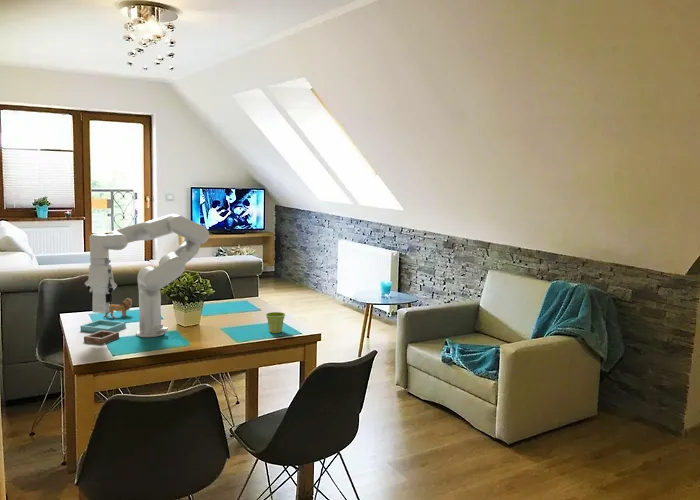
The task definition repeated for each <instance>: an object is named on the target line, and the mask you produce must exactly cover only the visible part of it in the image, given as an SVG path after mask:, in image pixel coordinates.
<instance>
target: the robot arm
mask: <svg viewBox="0 0 700 500" xmlns="http://www.w3.org/2000/svg"><path fill="white" fill-rule="evenodd" d="M172 233H174V234H176V235H178V236H180V237H181V238H184V240H183V242H182V243H181V244H180V245H178V246H177V247H175V248H174V249H172V250H170V251H169V252H168V253H166V254H164V255H163V256H162V257H161V258H160V259H159V261H158V266H156V267H154V266H150V265H149V266H144V267H142V268H141V269H140V270H139V272H138V273H137V288H138V313H139V314H138V316H139V317H138V319H139V320H138V321H139V330H137V331H136V332H135V335H136V337H137V336H138V337H139V338H157V337H160V336H163V335H164V334H165V333H168V330H169V327H166V326H165V327H164V323H162V305H161V303H162V299H161V298H162V297H161V294H162V293H161V289H163V288H165V287H166V286H168V285H169V284H171V283H172V282H173V281H175V280H176V279H178V278H180V276H182V275H183V273H185V269H186V264H187V263H188V262H190V261H192V260H193V259H194V257H197V255H198V253H199V251H200V249H201V245H203V244H205V243H207V241H209V238H210V232H209V229H207V227H206V226H204V225H201V224H199V223H197V222H195V221H193V220H191V219H189V218H187V217H185V216H184V215H180V214H176V213H170V214H167V215H164V216H159V217H158V218H155V219H151V220H148V221H144V222H140V223H135V224H132V225H128V226H125V227H121V228H118V229H115V230H112V231H109V232H108V233H107V234H106V233H104V232H103V233H101V232H100V233H99V232H98V233H92V234H90V235H89V257H90V264H89V266H88V279H87V280H86V281H85V282H84V285H85V286H86V288H87V290H88V291H89V293H90V302H93V286H99V287H101V288H105V289H106V293H107V294H106V303H109V304H110V303H111V302H113V297H112V295H113V293H114V291H115V290H116V288H117V287H118V284H117V283H116V282H115V280H114V279H115V278H114V272H113V268H112V265H111V264H110V263H111V259H110V256H109V255H110V254H109V253H110V252H109V251H110V250H111V251H112V250H113V251H121V250H125V248H126V247H127V246H128V244H130V243H133V242H138V241H151V240H155V239H157V238H161V237H163V236H167V235H170V234H172ZM108 289H109V290H108Z"/></svg>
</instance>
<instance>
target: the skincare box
mask: <svg viewBox="0 0 700 500" xmlns="http://www.w3.org/2000/svg"><path fill="white" fill-rule="evenodd" d="M108 290H109V289H108ZM106 294H107V293H106V289H105V288H101V287H99V286H93V301H92V313H97V314H106V313H107V312H108V311H109V305H110V302H109V303H106Z"/></svg>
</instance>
